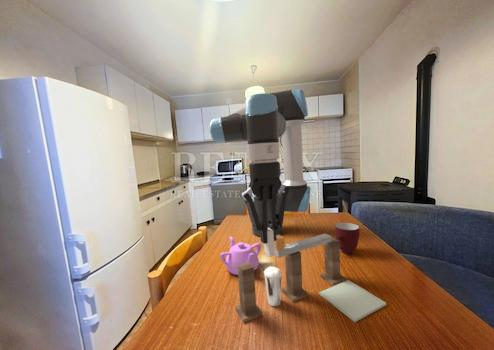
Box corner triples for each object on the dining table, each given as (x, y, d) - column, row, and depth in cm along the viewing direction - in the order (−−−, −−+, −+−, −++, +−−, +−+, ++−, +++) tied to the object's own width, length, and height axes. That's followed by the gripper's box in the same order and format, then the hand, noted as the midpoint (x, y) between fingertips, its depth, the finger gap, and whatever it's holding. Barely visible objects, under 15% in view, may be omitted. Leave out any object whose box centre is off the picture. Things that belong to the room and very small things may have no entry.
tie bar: (273, 253, 57) (272, 236, 56) (325, 238, 64) (324, 223, 64) (278, 257, 54) (277, 239, 54) (331, 241, 62) (331, 225, 61)
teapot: (254, 281, 66) (253, 253, 65) (215, 274, 71) (213, 248, 70) (266, 261, 77) (264, 238, 76) (231, 257, 82) (229, 234, 81)
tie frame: (235, 309, 54) (232, 264, 53) (332, 272, 68) (331, 235, 67) (243, 322, 50) (240, 274, 49) (345, 280, 64) (344, 241, 62)
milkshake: (261, 297, 58) (259, 262, 57) (280, 295, 59) (279, 260, 58) (264, 309, 54) (261, 271, 53) (285, 307, 54) (283, 269, 53)
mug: (349, 262, 73) (349, 234, 72) (327, 254, 79) (327, 228, 78) (363, 251, 80) (363, 225, 79) (342, 245, 86) (341, 221, 85)
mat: (319, 294, 58) (319, 292, 58) (348, 281, 63) (348, 279, 63) (354, 322, 48) (354, 319, 48) (386, 305, 53) (386, 302, 53)
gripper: (246, 163, 46) (252, 267, 49) (295, 159, 51) (299, 253, 54) (233, 163, 53) (240, 254, 56) (278, 159, 58) (282, 242, 61)
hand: (269, 253), depth 55 cm, fingers closed
